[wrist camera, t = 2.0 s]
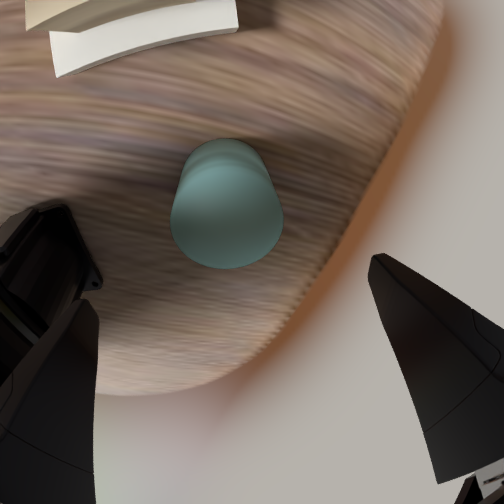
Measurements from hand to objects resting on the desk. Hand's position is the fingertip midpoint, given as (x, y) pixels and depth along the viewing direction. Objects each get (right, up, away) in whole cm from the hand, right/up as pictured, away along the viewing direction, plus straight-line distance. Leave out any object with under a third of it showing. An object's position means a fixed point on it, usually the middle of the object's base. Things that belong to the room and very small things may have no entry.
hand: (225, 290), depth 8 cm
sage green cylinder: (-1, +5, +6) cm, 8 cm away
